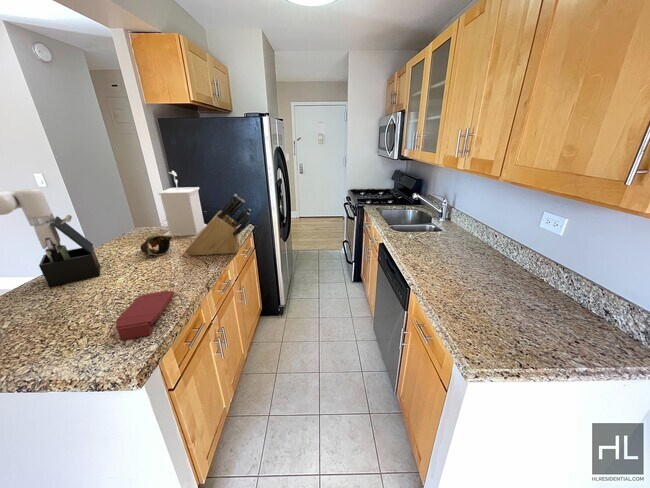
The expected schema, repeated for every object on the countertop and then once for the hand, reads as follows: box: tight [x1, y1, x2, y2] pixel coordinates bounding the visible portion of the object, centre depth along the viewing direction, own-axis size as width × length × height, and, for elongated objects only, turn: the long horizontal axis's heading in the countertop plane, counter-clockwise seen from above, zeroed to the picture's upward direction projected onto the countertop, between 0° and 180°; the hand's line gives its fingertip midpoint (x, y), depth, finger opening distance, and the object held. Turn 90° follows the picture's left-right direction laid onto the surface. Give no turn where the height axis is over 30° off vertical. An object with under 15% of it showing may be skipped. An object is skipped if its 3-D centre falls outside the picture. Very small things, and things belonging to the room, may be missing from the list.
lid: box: [52, 214, 94, 254], centre depth 115 cm, size 17×14×5 cm
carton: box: [115, 290, 175, 341], centre depth 92 cm, size 12×5×25 cm
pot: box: [139, 234, 175, 256], centre depth 142 cm, size 17×11×18 cm
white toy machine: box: [158, 170, 207, 237], centre depth 172 cm, size 24×28×40 cm
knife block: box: [184, 193, 252, 256], centre depth 139 cm, size 11×35×31 cm, turn 99°
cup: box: [44, 244, 71, 262], centre depth 113 cm, size 6×6×9 cm
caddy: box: [38, 247, 101, 289], centre depth 117 cm, size 17×14×11 cm
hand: (60, 258), depth 113 cm, fingers closed on cup, 6 cm apart
